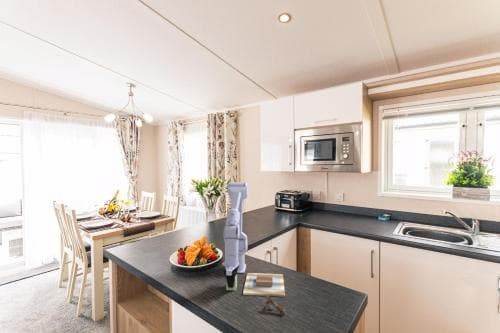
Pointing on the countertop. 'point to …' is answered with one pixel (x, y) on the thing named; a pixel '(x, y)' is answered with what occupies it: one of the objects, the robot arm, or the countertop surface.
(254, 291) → the build board
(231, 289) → the green block
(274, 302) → the brown triangle frame
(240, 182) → the robot arm
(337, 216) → the countertop surface
